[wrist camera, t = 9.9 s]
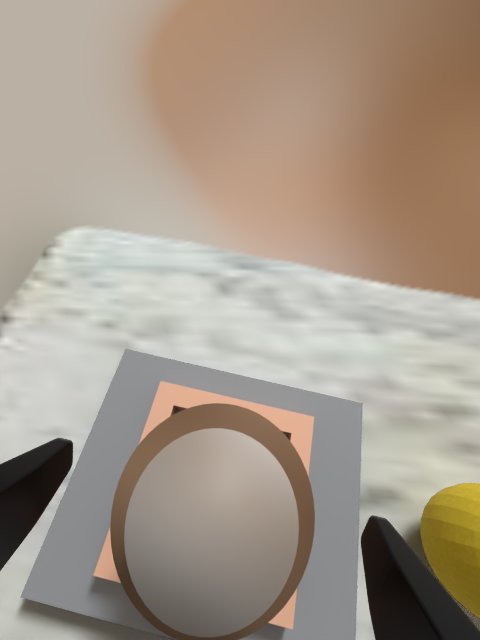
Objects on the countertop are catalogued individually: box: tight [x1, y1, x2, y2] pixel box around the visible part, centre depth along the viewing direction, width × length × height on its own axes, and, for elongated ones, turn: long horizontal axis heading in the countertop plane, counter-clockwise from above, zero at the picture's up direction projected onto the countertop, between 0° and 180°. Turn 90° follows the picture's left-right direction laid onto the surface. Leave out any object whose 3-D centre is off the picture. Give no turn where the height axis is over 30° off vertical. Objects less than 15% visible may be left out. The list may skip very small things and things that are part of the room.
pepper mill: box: [110, 403, 315, 640], centre depth 11 cm, size 5×5×13 cm
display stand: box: [21, 349, 362, 640], centre depth 17 cm, size 13×16×2 cm
